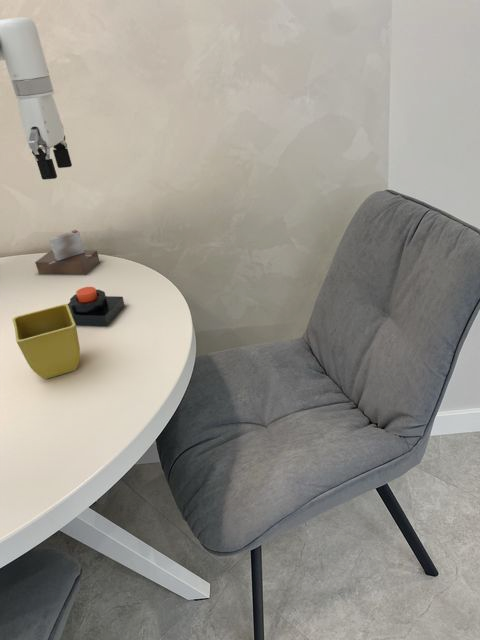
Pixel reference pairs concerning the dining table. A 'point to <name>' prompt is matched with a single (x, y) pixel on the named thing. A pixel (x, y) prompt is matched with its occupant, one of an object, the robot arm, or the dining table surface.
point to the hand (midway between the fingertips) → (57, 172)
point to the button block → (96, 310)
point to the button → (86, 294)
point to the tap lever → (67, 245)
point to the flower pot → (48, 340)
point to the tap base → (68, 263)
